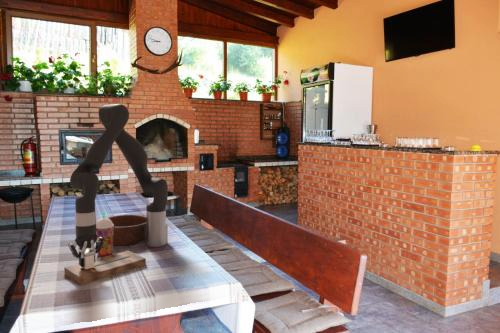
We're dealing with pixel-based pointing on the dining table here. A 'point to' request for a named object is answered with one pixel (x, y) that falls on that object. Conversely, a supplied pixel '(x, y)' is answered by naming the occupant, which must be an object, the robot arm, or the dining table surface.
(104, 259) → the brown flat wooden board
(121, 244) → the wooden bowl
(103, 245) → the smoothie
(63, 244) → the dining table surface
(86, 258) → the fader tab
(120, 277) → the dining table surface
